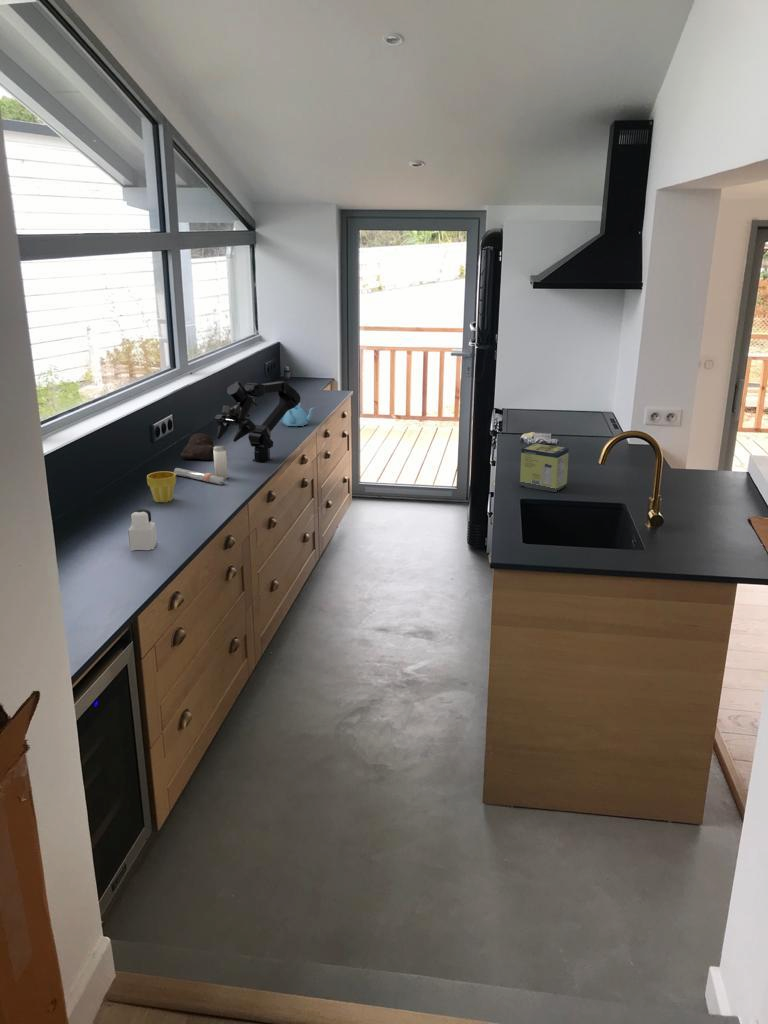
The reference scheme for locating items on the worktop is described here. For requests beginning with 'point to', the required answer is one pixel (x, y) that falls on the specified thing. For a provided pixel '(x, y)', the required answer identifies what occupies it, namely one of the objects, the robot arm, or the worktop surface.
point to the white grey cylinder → (220, 461)
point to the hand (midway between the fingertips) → (225, 439)
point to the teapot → (296, 416)
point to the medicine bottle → (142, 531)
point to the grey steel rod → (200, 476)
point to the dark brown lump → (199, 447)
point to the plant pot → (162, 485)
